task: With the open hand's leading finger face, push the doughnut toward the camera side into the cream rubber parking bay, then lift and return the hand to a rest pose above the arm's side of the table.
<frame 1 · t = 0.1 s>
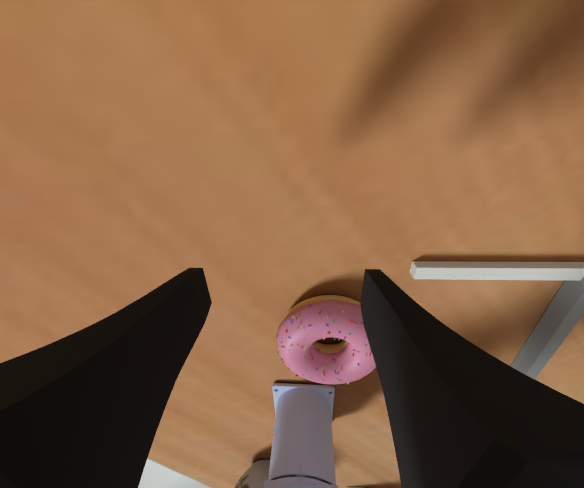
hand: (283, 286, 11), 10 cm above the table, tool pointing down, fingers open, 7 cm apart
teacup: (273, 466, 44), on the table
parking bay: (455, 331, 25), on the table
doughnut: (328, 324, 26), on the table
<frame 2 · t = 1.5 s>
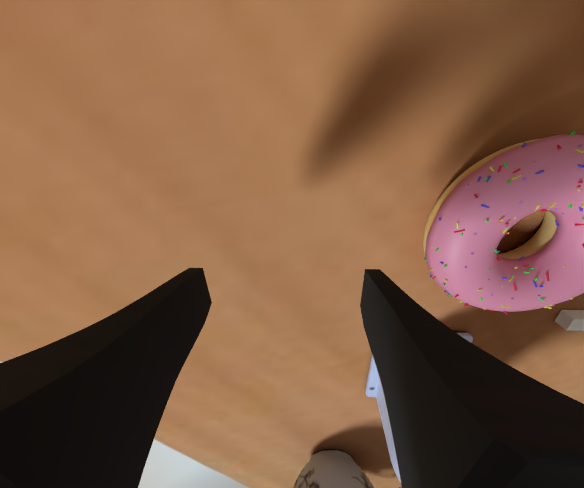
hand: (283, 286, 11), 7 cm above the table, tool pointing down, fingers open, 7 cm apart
teacup: (336, 460, 34), on the table
doughnut: (496, 220, 16), on the table
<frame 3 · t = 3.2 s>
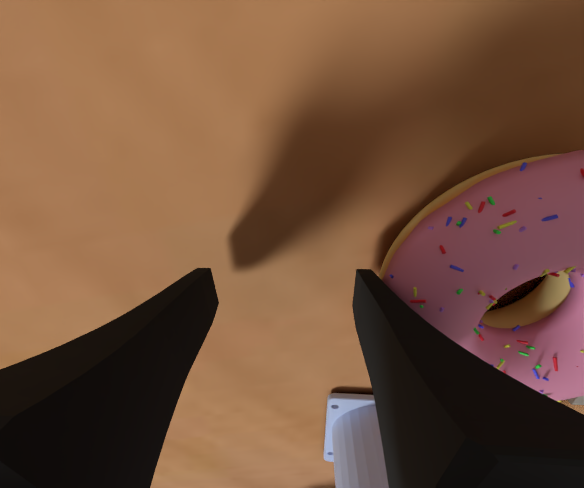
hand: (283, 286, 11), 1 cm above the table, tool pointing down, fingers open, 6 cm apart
doughnut: (482, 265, 11), on the table, touching gripper
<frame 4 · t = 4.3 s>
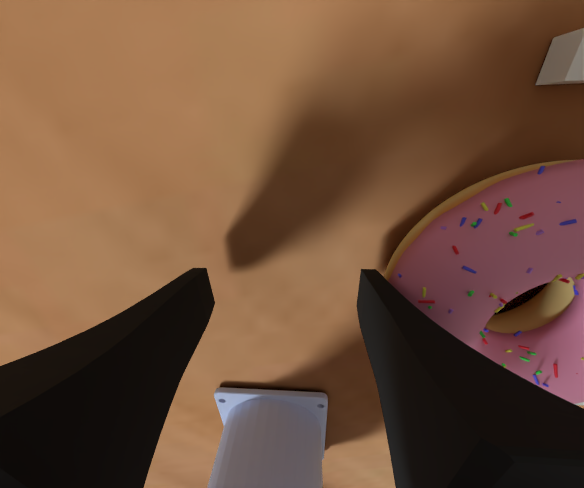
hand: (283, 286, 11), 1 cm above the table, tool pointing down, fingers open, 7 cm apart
doughnut: (485, 270, 11), on the table, touching gripper
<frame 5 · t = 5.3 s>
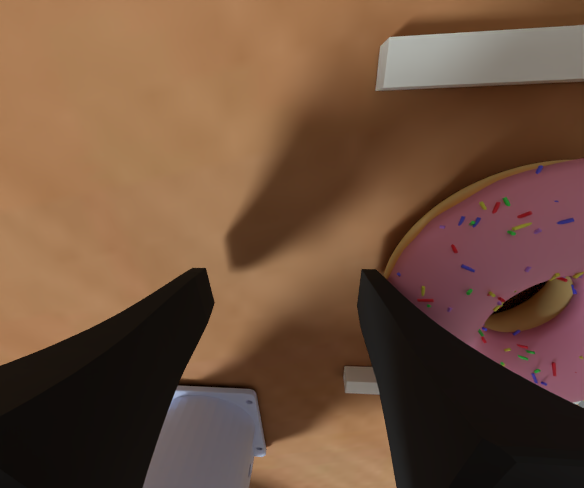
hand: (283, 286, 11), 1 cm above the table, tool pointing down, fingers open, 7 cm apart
parking bay: (484, 271, 11), on the table
doughnut: (484, 269, 11), on the table, touching gripper
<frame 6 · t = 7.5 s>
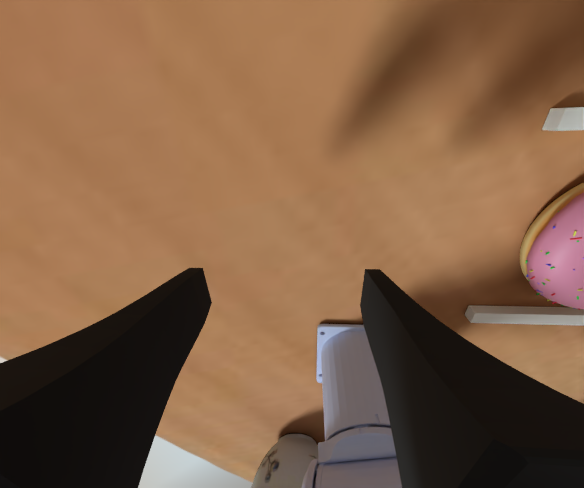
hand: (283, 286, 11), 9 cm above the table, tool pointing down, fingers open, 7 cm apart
teacup: (302, 443, 38), on the table
parking bay: (581, 233, 18), on the table
doughnut: (583, 231, 18), on the table
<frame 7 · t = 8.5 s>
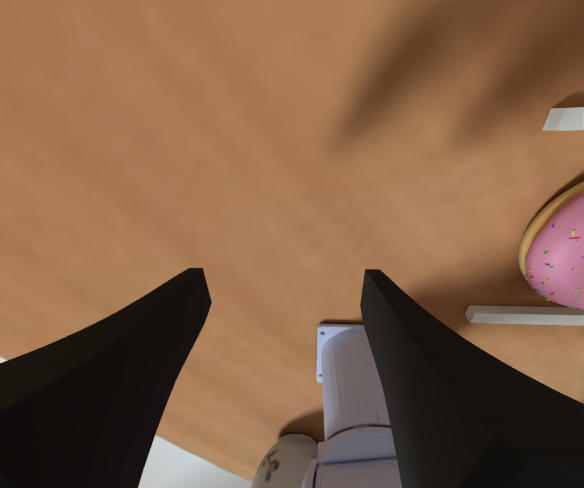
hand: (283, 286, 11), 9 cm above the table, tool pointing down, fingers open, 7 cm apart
teacup: (302, 443, 38), on the table
parking bay: (581, 233, 18), on the table
doughnut: (582, 230, 18), on the table
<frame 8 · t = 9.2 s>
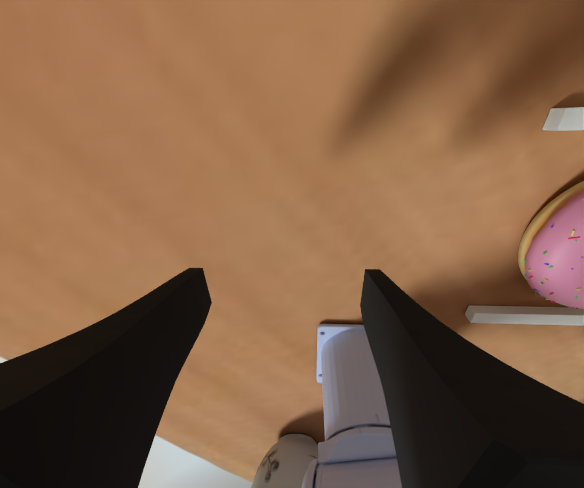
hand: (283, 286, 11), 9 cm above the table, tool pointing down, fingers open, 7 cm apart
teacup: (302, 443, 38), on the table
parking bay: (581, 233, 18), on the table
doughnut: (582, 230, 18), on the table
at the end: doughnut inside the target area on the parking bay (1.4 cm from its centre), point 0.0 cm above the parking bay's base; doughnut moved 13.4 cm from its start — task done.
